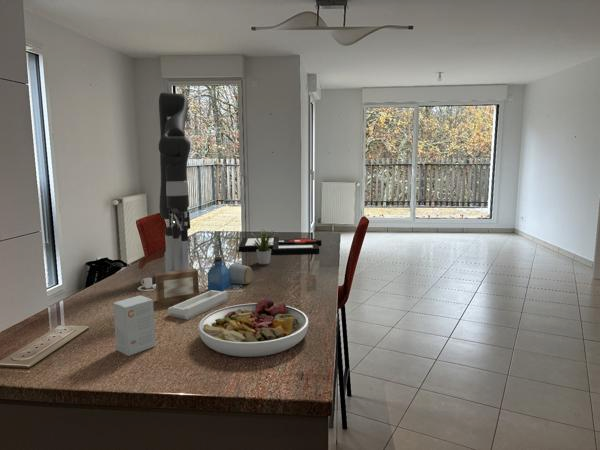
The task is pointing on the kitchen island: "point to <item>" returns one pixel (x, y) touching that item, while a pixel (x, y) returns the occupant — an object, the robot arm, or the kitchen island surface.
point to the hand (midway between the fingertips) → (180, 239)
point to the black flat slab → (284, 245)
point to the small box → (134, 325)
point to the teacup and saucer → (147, 284)
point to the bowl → (253, 328)
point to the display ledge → (198, 304)
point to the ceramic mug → (240, 274)
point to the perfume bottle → (218, 276)
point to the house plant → (263, 248)
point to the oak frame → (176, 285)
